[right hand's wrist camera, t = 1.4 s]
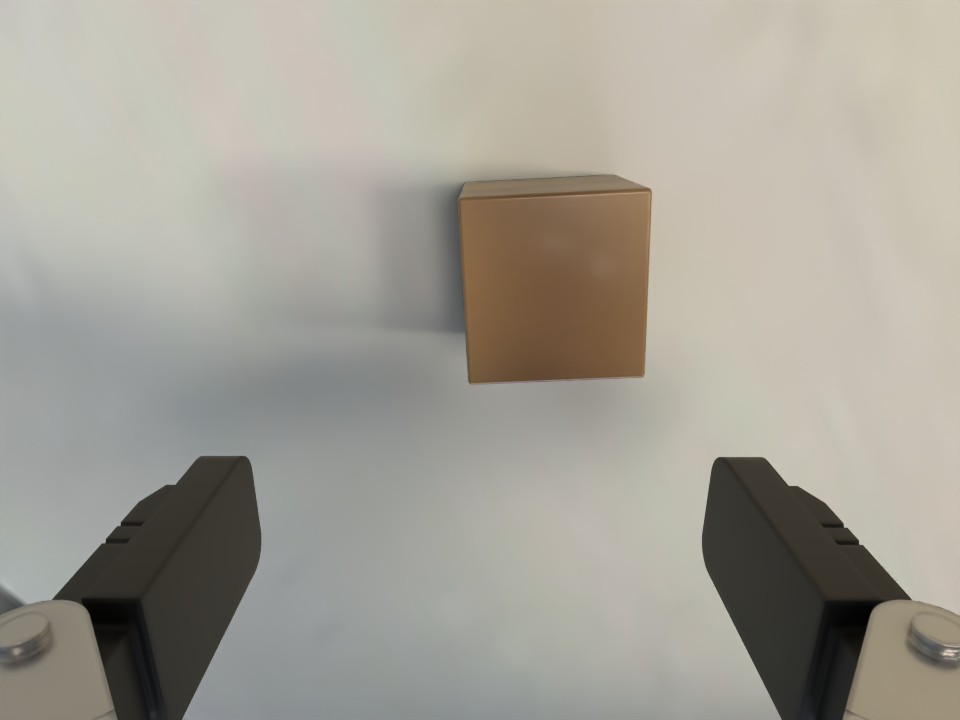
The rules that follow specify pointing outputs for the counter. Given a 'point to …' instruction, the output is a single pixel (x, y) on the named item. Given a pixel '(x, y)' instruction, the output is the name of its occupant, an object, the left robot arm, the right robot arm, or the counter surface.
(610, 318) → the block
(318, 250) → the counter surface
